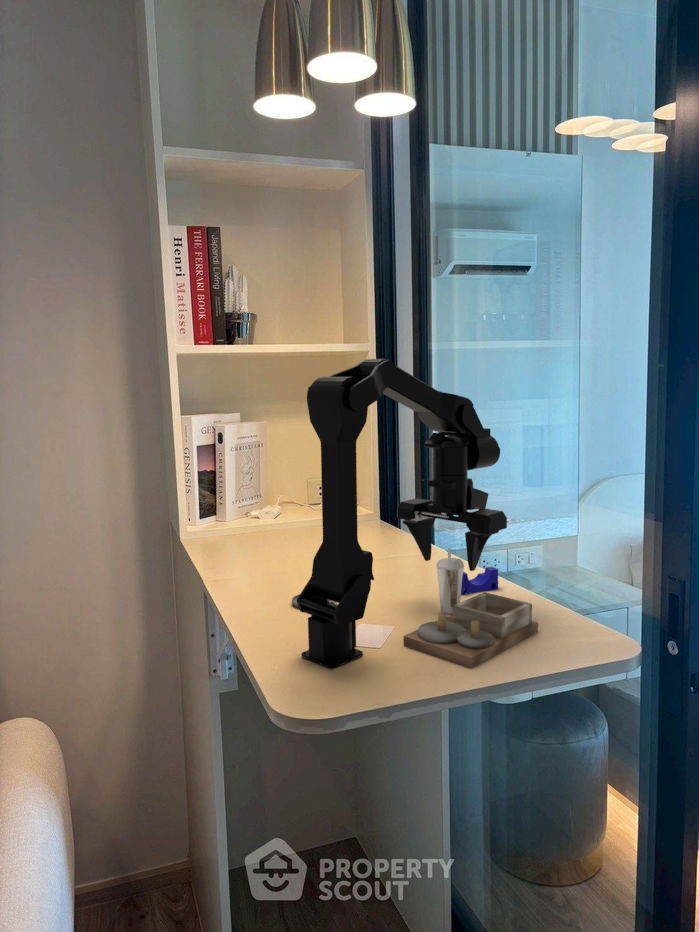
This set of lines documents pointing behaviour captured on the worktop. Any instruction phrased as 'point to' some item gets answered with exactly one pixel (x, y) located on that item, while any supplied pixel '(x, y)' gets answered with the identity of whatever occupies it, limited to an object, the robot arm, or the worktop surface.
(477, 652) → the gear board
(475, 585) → the cable holder
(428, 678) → the worktop surface
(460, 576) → the milkshake
